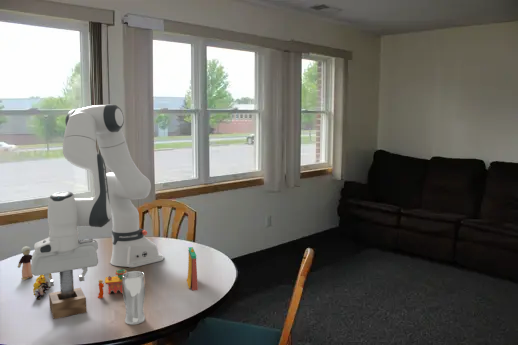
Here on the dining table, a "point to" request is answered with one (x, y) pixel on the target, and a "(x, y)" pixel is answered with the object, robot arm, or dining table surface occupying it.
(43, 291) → the figurine set
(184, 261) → the dining table surface
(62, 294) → the metal peg
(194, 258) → the toy building block set
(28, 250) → the grandmother figurine
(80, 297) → the wooden block with hole
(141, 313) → the beer glass
